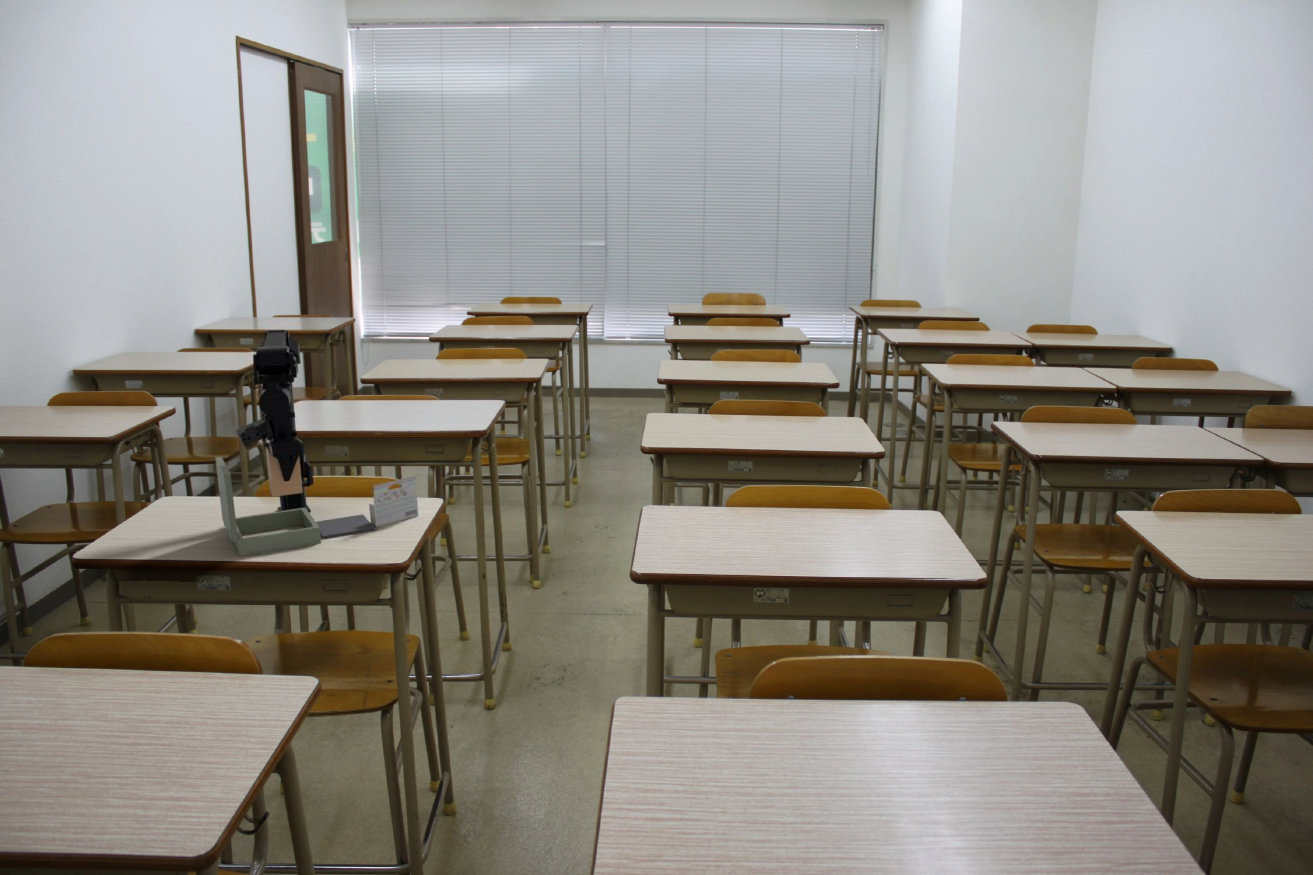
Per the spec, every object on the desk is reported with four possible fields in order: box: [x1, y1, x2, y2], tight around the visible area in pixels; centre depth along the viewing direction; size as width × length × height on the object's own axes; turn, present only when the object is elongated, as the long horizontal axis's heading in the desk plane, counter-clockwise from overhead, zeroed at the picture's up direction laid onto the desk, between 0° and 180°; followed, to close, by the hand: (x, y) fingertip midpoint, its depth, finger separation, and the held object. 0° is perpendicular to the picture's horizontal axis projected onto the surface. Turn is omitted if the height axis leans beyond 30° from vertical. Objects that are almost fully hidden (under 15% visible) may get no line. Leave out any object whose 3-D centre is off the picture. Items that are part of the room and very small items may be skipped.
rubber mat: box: [315, 513, 376, 539], centre depth 214 cm, size 11×11×1 cm
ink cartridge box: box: [368, 475, 419, 528], centre depth 218 cm, size 2×11×10 cm, turn 136°
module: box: [265, 445, 303, 498], centre depth 205 cm, size 4×6×10 cm, turn 119°
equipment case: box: [214, 456, 322, 557], centre depth 205 cm, size 16×17×18 cm
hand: (285, 478), depth 206 cm, fingers closed on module, 4 cm apart
